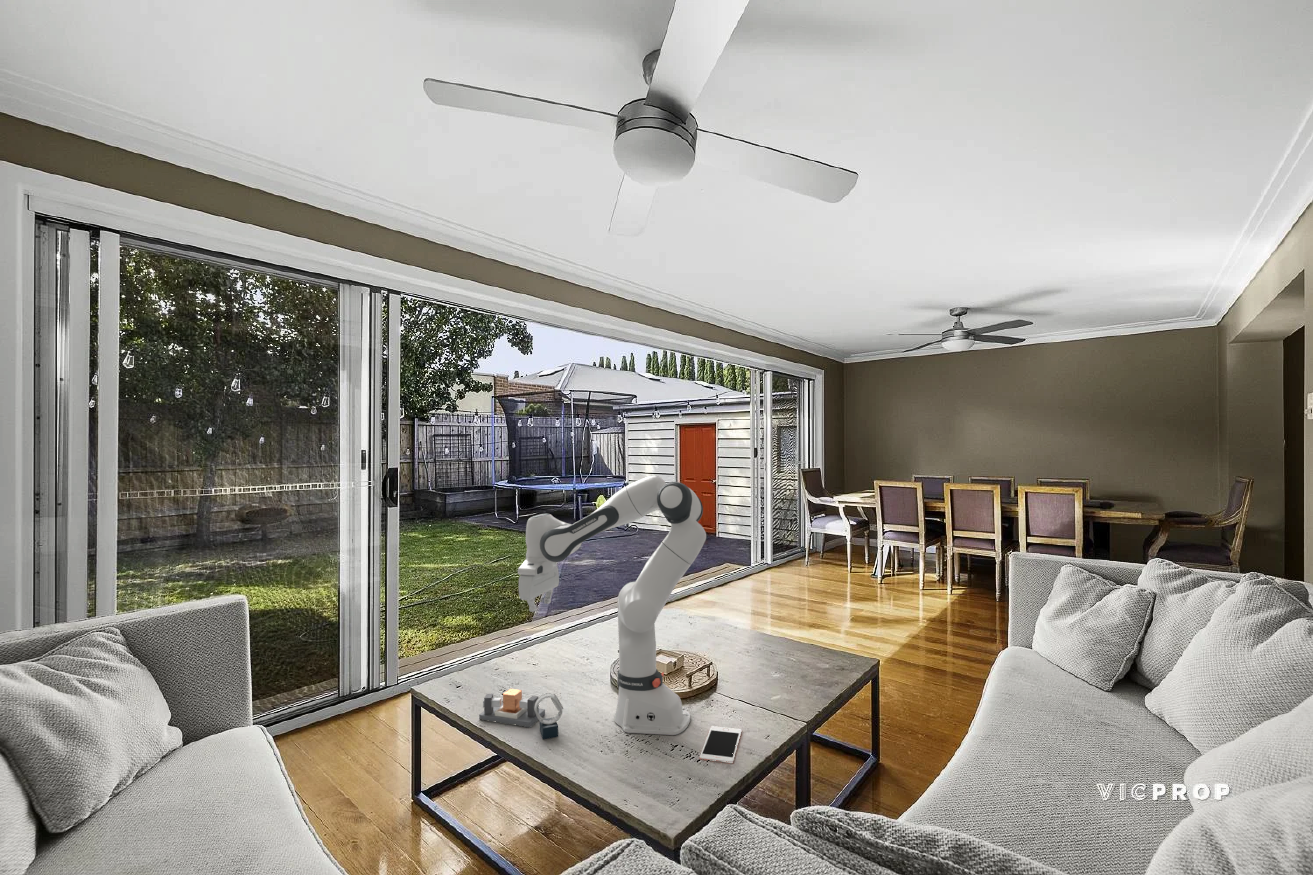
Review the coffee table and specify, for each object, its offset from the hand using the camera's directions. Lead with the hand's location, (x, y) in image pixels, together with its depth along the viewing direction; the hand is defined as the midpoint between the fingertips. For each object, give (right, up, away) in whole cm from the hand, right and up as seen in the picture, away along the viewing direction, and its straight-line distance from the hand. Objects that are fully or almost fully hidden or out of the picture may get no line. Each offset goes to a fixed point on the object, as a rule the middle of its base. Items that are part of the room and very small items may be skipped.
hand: (540, 607), depth 197 cm
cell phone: (+55, -29, -31) cm, 70 cm away
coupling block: (-6, -28, -14) cm, 31 cm away
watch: (+7, -29, -24) cm, 39 cm away
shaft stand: (-6, -29, -14) cm, 33 cm away
